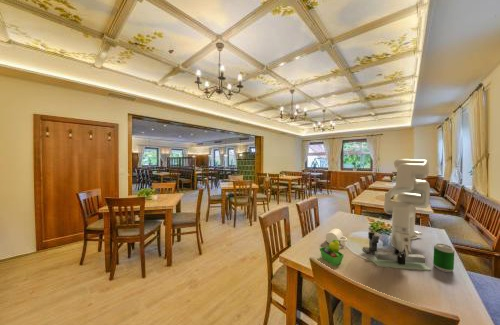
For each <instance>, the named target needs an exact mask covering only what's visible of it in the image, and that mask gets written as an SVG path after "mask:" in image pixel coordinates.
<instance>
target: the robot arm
mask: <svg viewBox="0 0 500 325" xmlns="http://www.w3.org/2000/svg"><path fill="white" fill-rule="evenodd" d="M393 165H394V168H395V169H396V179H395V185H394V186H393V187H391V188H390V189H389V190H388V191H387V192H386V194H385V196H384V202H383V210H384V212H385V213H386V214H388V215H392V216H391V217H392V219H391V220H392V222H391V238H390V241H391V242H390V244H391V246H392V249H394V253H399V256H398V264H403V265H405V258H406V256H409V254H408V253H412V240H413V241H414V240H417V239H418V236H423V233H422V232H419V231H417V230H415V227H416V226H415V223H416V222H415V221H416V214H417V210H416V208H418V209H427V208H428V207H429V205H430V197H431V196H430V194H431V188H430V187H431V186H430V183H429V182H428V181H427V180H425V178H427V177H428V176H429V173H430V164H429V161H428V160H427V159H421V158H420V159H416V158H415V159H413V158H411V159H410V158H400V159H399V158H398V159H395V160H394V162H393ZM422 179H423V180H422ZM396 195H397V196H396ZM394 196H396V199H397V200H396V201H392V198H393V197H394ZM403 250H404V251H403ZM401 253H404V254H401Z"/></svg>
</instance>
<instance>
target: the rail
mask: <svg viewBox="0 0 500 325" xmlns="http://www.w3.org/2000/svg"><path fill="white" fill-rule="evenodd" d="M401 254H404V253H401ZM398 256H399V253H391V252H377V251H375V254H374V257H375V258H377V259H378V260H390V261H398ZM405 262H415V263H423V264H426V257H425V256H424V255H422V254H416V253H415V254H414V253H412V254H409V256H406V258H405Z"/></svg>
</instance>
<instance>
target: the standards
mask: <svg viewBox="0 0 500 325" xmlns="http://www.w3.org/2000/svg"><path fill="white" fill-rule="evenodd" d="M367 237H368V239H369V246H368V247H367V246H366V247H365V246H363V247H362V250H363V249H364V250H365V251H364V250H363V251H364V252H365V253H366V254H367V255H375V251H377V252H391V253H394V248H380V247H379V248H378V244H379V243H380V241H379V240H380V238H379V237H380V236H379V235H376V234H375V232H373V231H368V236H367ZM403 251H404V250H403ZM408 254H413V253H412V252H411V253H408Z"/></svg>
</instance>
